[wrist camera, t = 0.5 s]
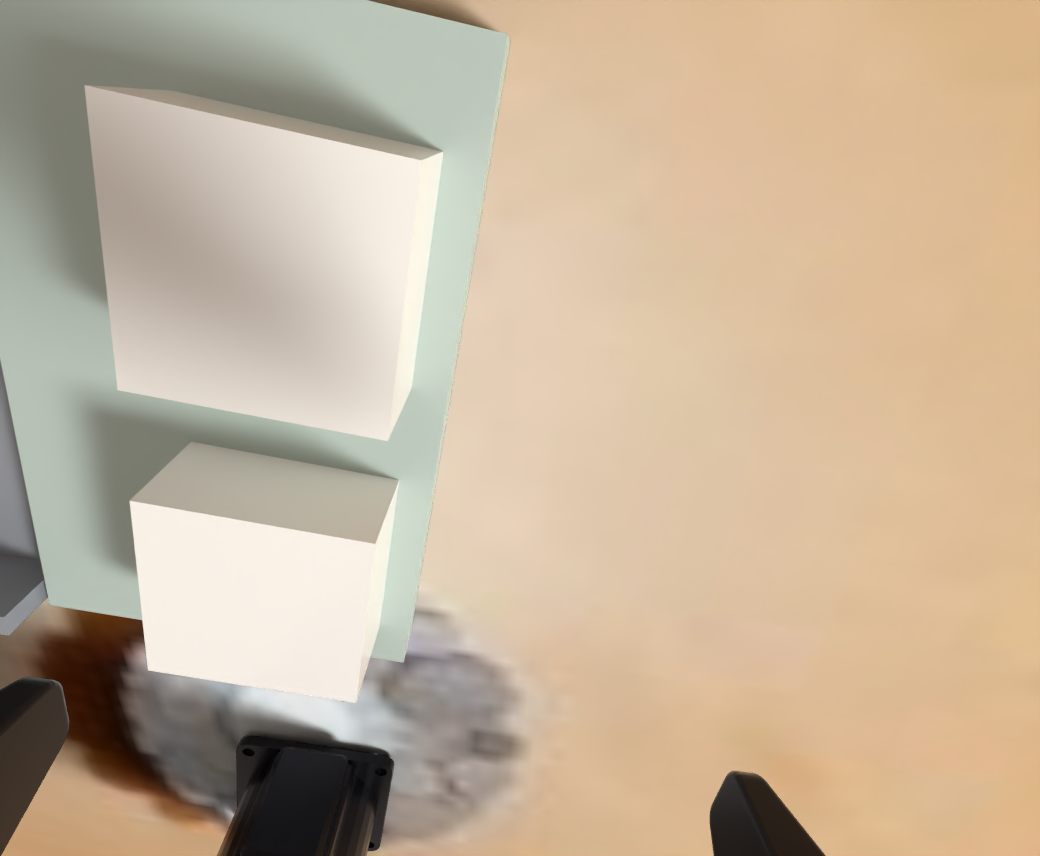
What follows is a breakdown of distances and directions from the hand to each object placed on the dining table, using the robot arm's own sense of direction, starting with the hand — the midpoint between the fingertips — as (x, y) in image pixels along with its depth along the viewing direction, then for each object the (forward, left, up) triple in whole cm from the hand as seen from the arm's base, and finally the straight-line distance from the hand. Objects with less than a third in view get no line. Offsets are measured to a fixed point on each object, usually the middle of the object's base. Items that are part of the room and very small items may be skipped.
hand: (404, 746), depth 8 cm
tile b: (+4, +5, -10) cm, 12 cm away
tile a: (-5, +5, -10) cm, 12 cm away
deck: (0, +7, -11) cm, 13 cm away
